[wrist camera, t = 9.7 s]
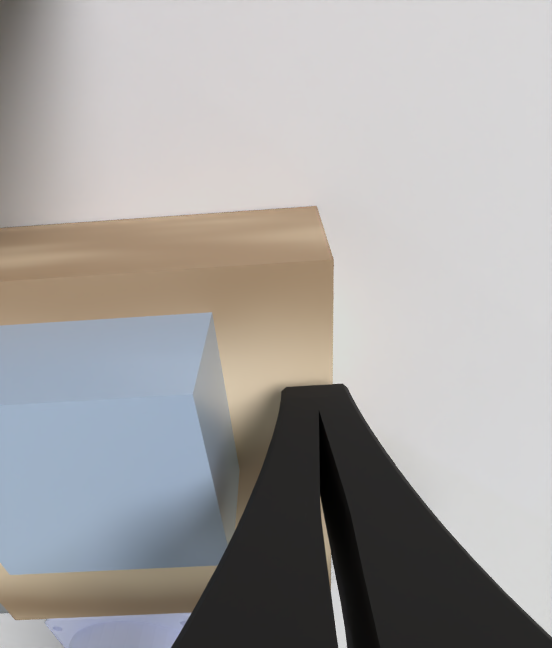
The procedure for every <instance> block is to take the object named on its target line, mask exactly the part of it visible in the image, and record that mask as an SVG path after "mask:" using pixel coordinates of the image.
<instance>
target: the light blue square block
mask: <svg viewBox="0 0 552 648" xmlns="http://www.w3.org/2000/svg"><path fill="white" fill-rule="evenodd" d="M239 471H240V470H239V464H238V458H237V452H236V447H235V441H234V435H233V429H232V424H231V418H230V412H229V406H228V401H227V395H226V389H225V383H224V378H223V372H222V366H221V360H220V355H219V349H218V343H217V337H216V332H215V326H214V320H213V314H212V312H208V313H192V314H176V315H161V316H145V317H129V318H113V319H97V320H81V321H65V322H49V323H33V324H17V325H1V326H0V563H1V564H2V566H3V567H4V568H5V569H6V571H7V572H8V573H9V574H10V575H21V574H43V573H65V572H86V571H108V570H130V569H152V568H173V567H195V566H217V565H218V564H219V562H220V560H221V558H222V556H223V554H224V552H225V550H226V548H227V546H228V544H229V542H230V540H231V538H232V536H233V534H234V532H235V523H236V510H237V497H238V484H239Z"/></svg>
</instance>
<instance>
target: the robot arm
mask: <svg viewBox="0 0 552 648" xmlns="http://www.w3.org/2000/svg"><path fill="white" fill-rule="evenodd" d="M320 498H321V503H322V509H323V514H324V519H325V524H326V529H327V534H328V539H329V545H330V550H331V555H332V560H333V565H334V570H335V575H336V580H337V585H338V590H339V595H340V601H341V606H342V613H343V619H344V625H345V632H346V640H347V648H552V637H551V636H550V635H549V634H548V633H547V632H546V631H545V630H544V629H543V628H541V627H540V626H539V625H538V624H537V623H536V622H535V621H534V620H533V619H532V618H531V617H530V616H529V615H528V614H527V613H526V612H525V611H524V610H523V609H522V608H521V607H520V606H519V605H518V604H517V603H516V602H515V601H514V600H513V599H512V598H511V597H510V596H508V595H507V594H506V593H505V592H504V591H503V589H502V588H501V587H500V586H499V585H498V584H497V583H496V582H495V581H494V580H493V579H492V578H491V577H490V576H489V575H488V574H487V573H486V572H485V571H484V570H483V568H482V567H481V566H480V565H479V564H478V563H477V562H476V561H475V560H474V559H473V558H472V557H471V556H470V555H469V554H468V552H467V551H466V550H465V549H464V548H463V547H462V546H461V545H460V544H459V542H458V541H457V540H456V539H455V538H454V537H453V536H452V535H451V533H450V532H449V531H448V530H447V529H446V528H445V527H444V525H443V524H442V523H441V522H440V521H439V520H438V518H437V517H436V516H435V515H434V514H433V512H432V511H431V510H430V509H429V508H428V506H427V505H426V504H425V503H424V501H423V500H422V499H421V498H420V496H419V495H418V494H417V493H416V491H415V490H414V489H413V487H412V486H411V485H410V484H409V482H408V481H407V480H406V478H405V477H404V476H403V474H402V473H401V472H400V470H399V469H398V468H397V466H396V465H395V463H394V462H393V461H392V459H391V458H390V456H389V455H388V454H387V452H386V451H385V449H384V448H383V447H382V445H381V444H380V442H379V441H378V439H377V438H376V436H375V435H374V433H373V432H372V430H371V429H370V427H369V425H368V424H367V422H366V421H365V419H364V417H363V416H362V414H361V412H360V411H359V409H358V407H357V405H356V404H355V402H354V400H353V398H352V396H351V394H350V392H349V390H348V388H347V387H346V386H345V385H343V384H328V385H310V386H292V387H286V388H284V389H283V390H282V391H281V402H280V408H279V413H278V417H277V421H276V425H275V429H274V432H273V436H272V439H271V442H270V445H269V448H268V451H267V454H266V457H265V460H264V463H263V466H262V468H261V471H260V474H259V476H258V479H257V481H256V483H255V486H254V488H253V491H252V493H251V495H250V498H249V500H248V503H247V505H246V508H245V510H244V512H243V514H242V517H241V519H240V521H239V523H238V525H237V527H236V530H235V532H234V534H233V536H232V538H231V540H230V542H229V544H228V546H227V548H226V550H225V552H224V554H223V556H222V558H221V560H220V562H219V564H218V566H217V568H216V569H215V571H214V573H213V575H212V577H211V579H210V580H209V582H208V584H207V586H206V588H205V590H204V591H203V593H202V595H201V597H200V599H199V600H198V602H197V604H196V606H195V608H194V609H193V611H192V613H170V614H147V615H124V616H100V617H77V618H54V619H46V621H45V623H46V625H47V627H48V628H49V629H50V630H51V632H52V633H53V634H54V635H55V637H56V638H57V639H58V640H59V642H60V643H61V644H62V645H63V647H64V648H338V643H337V636H336V628H335V621H334V613H333V606H332V598H331V591H330V583H329V575H328V568H327V560H326V552H325V544H324V536H323V528H322V520H321V505H320Z"/></svg>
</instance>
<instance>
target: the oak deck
mask: <svg viewBox="0 0 552 648" xmlns="http://www.w3.org/2000/svg"><path fill="white" fill-rule="evenodd" d="M333 267H334V259H333V256H332V253H331V250H330V247H329V244H328V240H327V237H326V234H325V231H324V228H323V225H322V222H321V218H320V215H319V212H318V209H317V206H311V207H296V208H282V209H267V210H253V211H238V212H224V213H210V214H195V215H181V216H166V217H152V218H137V219H123V220H109V221H94V222H80V223H65V224H51V225H36V226H22V227H7V228H0V326H1V325H17V324H33V323H49V322H65V321H81V320H97V319H113V318H129V317H145V316H161V315H176V314H192V313H208V312H212V314H213V320H214V326H215V332H216V337H217V343H218V349H219V355H220V360H221V366H222V372H223V378H224V383H225V389H226V395H227V401H228V406H229V412H230V418H231V424H232V429H233V435H234V441H235V447H236V452H237V458H238V464H239V470H240V471H239V484H238V497H237V510H236V523H235V530H236V527H237V525H238V523H239V521H240V519H241V517H242V514H243V512H244V510H245V508H246V505H247V503H248V500H249V498H250V495H251V493H252V491H253V488H254V486H255V483H256V481H257V479H258V476H259V474H260V471H261V468H262V466H263V463H264V460H265V457H266V454H267V451H268V448H269V445H270V442H271V439H272V436H273V432H274V429H275V425H276V421H277V417H278V413H279V408H280V402H281V391H282V390H283V389H284V388H286V387H292V386H310V385H328V384H332V382H333ZM320 505H321V520H322V528H323V536H324V544H325V552H326V560H327V568H328V575H329V583H330V591H331V550H330V545H329V539H328V534H327V529H326V524H325V519H324V514H323V509H322V503H321V498H320ZM217 566H218V565H217ZM217 566H195V567H173V568H152V569H130V570H108V571H86V572H65V573H43V574H21V575H10V574H9V573H8V572H7V571H6V569H5V568H4V567H3V566H2V564H1V563H0V603H1V604H2V605H3V606H4V608H5V609H6V610H7V611H8V612H9V613H10V614H11V616H12V617H13V618H14V619H15V620H31V619H54V618H77V617H100V616H124V615H147V614H170V613H192V611H193V609H194V608H195V606H196V604H197V602H198V600H199V599H200V597H201V595H202V593H203V591H204V590H205V588H206V586H207V584H208V582H209V580H210V579H211V577H212V575H213V573H214V571H215V569H216V568H217Z"/></svg>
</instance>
